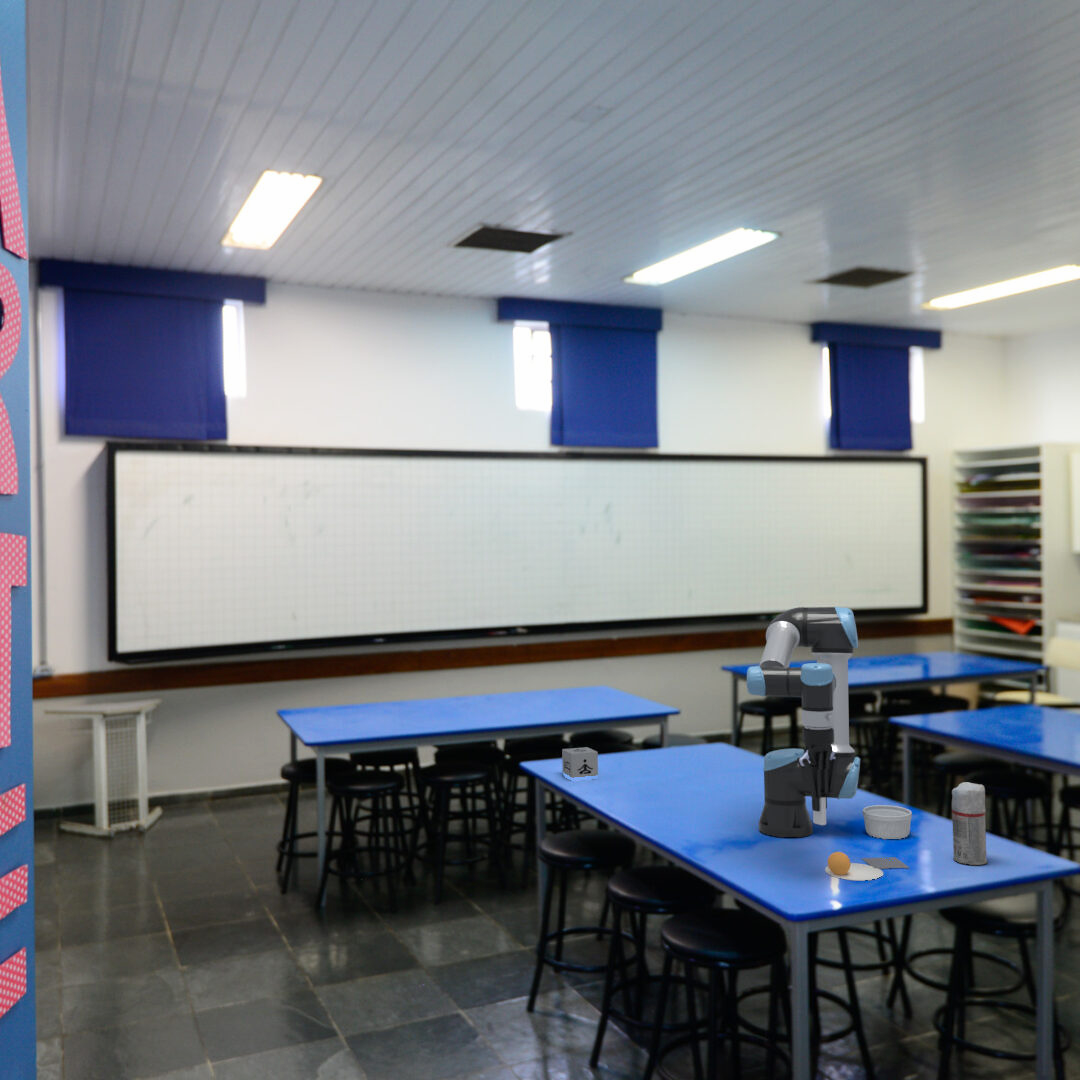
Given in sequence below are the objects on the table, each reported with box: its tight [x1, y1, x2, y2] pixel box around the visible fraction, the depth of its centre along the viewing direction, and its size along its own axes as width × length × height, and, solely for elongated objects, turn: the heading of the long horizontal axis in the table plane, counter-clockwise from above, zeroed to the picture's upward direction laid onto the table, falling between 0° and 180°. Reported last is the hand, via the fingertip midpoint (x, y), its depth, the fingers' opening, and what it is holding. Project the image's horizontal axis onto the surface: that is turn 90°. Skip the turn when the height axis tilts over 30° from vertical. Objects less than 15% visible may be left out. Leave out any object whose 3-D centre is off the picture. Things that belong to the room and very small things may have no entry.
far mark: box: [861, 856, 910, 870], centre depth 261 cm, size 9×9×1 cm
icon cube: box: [561, 746, 599, 778], centre depth 369 cm, size 10×10×10 cm
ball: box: [827, 851, 852, 875], centre depth 253 cm, size 6×6×6 cm
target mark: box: [824, 862, 884, 882], centre depth 254 cm, size 14×14×1 cm
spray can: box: [951, 781, 988, 866], centre depth 262 cm, size 8×8×20 cm
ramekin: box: [862, 804, 913, 840], centre depth 288 cm, size 13×13×7 cm
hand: (819, 823), depth 248 cm, fingers closed
